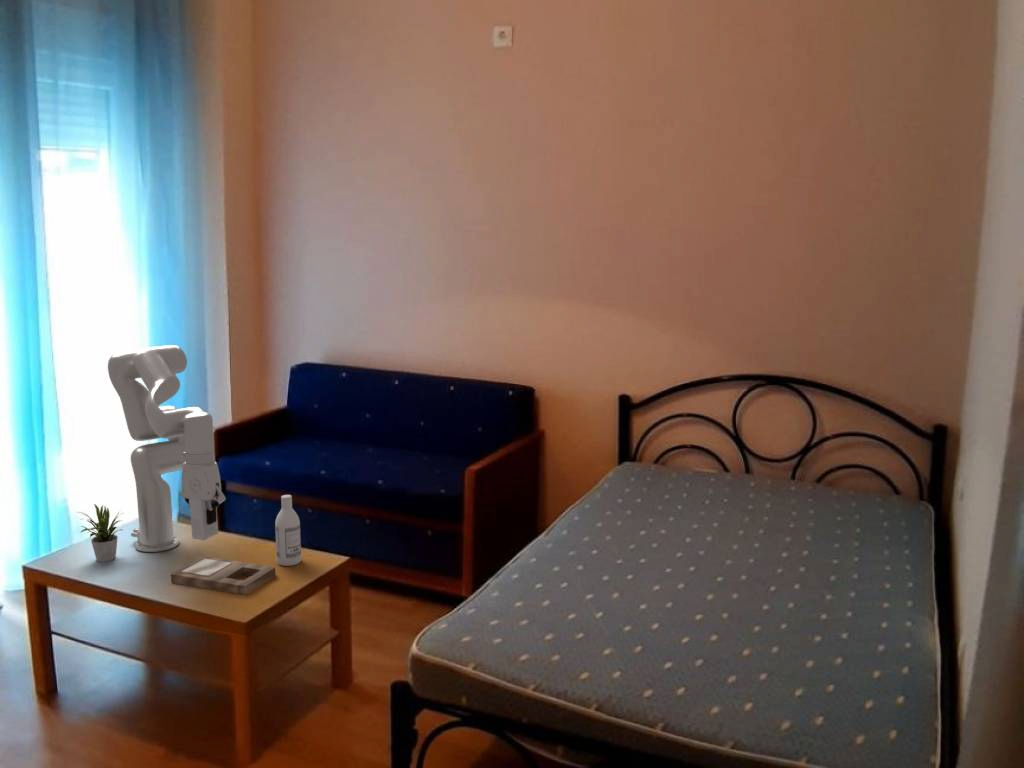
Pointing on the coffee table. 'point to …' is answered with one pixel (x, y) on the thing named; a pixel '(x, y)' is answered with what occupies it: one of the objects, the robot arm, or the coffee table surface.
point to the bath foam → (288, 534)
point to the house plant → (103, 535)
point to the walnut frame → (223, 575)
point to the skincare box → (201, 520)
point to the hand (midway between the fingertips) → (204, 521)
